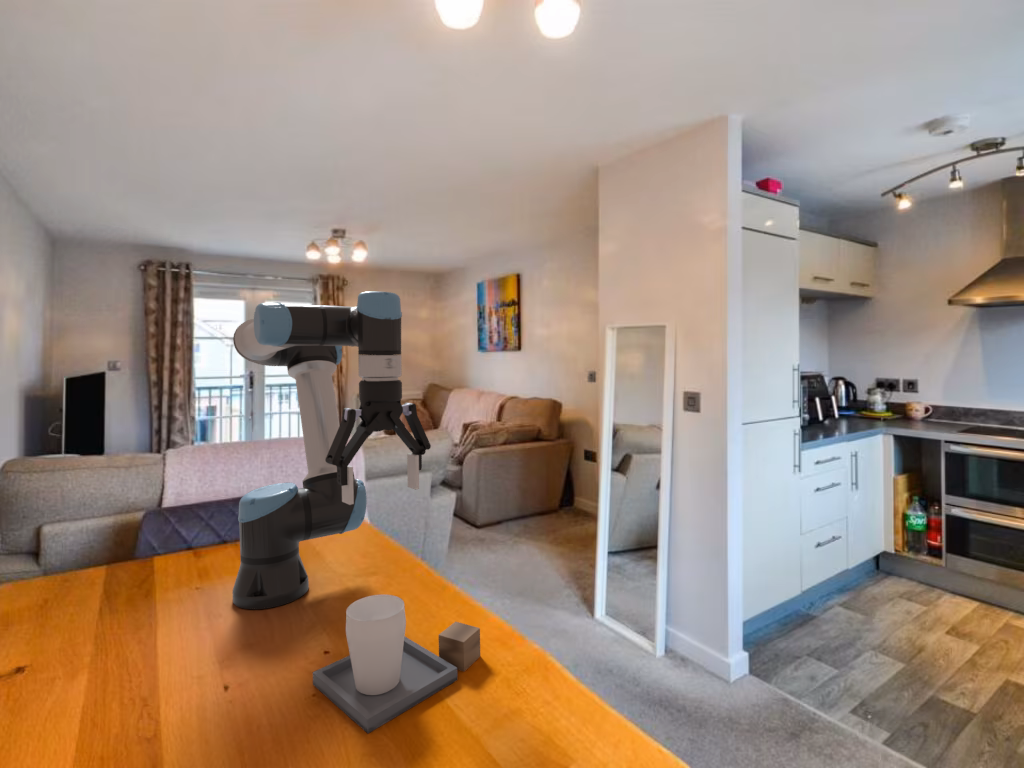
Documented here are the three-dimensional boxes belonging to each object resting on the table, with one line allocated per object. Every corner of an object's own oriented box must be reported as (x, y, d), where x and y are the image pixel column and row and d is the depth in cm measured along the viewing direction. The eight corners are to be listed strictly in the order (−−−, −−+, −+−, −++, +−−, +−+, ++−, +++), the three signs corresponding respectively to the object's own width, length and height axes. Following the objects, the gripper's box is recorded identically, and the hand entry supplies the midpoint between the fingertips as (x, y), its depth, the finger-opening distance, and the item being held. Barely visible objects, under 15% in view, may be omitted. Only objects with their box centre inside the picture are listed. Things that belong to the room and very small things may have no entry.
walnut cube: (439, 664, 87) (438, 634, 87) (456, 649, 92) (455, 621, 91) (464, 672, 85) (463, 642, 85) (480, 656, 89) (479, 628, 89)
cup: (392, 704, 76) (390, 624, 75) (336, 697, 78) (333, 618, 77) (416, 668, 85) (414, 596, 84) (365, 662, 87) (363, 592, 86)
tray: (313, 684, 82) (312, 672, 82) (398, 643, 94) (398, 632, 93) (367, 733, 71) (367, 719, 71) (457, 680, 83) (457, 667, 82)
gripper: (323, 383, 82) (326, 515, 84) (448, 377, 100) (448, 486, 102) (303, 381, 88) (306, 505, 89) (424, 375, 105) (425, 479, 107)
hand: (382, 495), depth 95 cm, fingers open, 13 cm apart
